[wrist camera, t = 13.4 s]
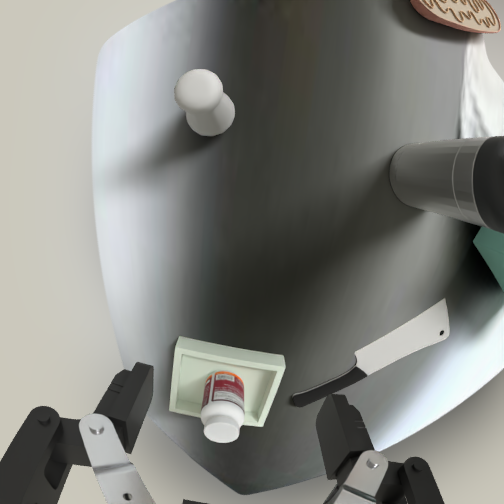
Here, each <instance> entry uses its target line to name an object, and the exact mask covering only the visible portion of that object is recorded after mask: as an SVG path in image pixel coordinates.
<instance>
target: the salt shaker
mask: <svg viewBox="0 0 504 504" xmlns="http://www.w3.org/2000/svg"><path fill="white" fill-rule="evenodd" d="M174 93H175V101H176V102H177V104H178V105H179V107H180V108H181V109H182V110H184V111H186V118H187V122H188V124H189V125H190V127H191V128H192V130H194V131H195V132H197V133H198V134H200V135H203V136H214V135H218V134H221V133H223V132H224V131H225V130H226V129H227V128H229V127H230V126H231V124H232V121H233V119H234V117H235V110H234V104H233V103H232V101H231V100H230V98H229V97H228V96H227V95H226V94H225V93H223V87H222V83H221V81H220V80H219V78H218V77H217V75H216V74H214V73H212V72H210V71H208V70H204V69H195V70H192V71H189V72H187V73H185V74H184V75H183V76H182V77H181V78H180V79H178V81H177V84H176V86H175V88H174Z"/></svg>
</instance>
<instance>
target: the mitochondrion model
mask: <svg viewBox="0 0 504 504" xmlns="http://www.w3.org/2000/svg"><path fill="white" fill-rule="evenodd" d="M410 2H411V4H412V5H413V7H414V8H415V10H416V11H417V12H418V13H420V14H421V15H422V16H423V17H425V18H427V19H429V20H431V21H434V22H437V23H441V24H444V25H447V26H450V27H453V28H456V29H460V30H464V31H469V32H475V33H497V32H499V31H500V29H501V24H500V20H499V18H498V16H497V14H496V12H495V11H494V9H493V8H492V7H491V5H490V4H489V3H488V2H487V1H486V0H410Z"/></svg>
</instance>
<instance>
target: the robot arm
mask: <svg viewBox="0 0 504 504" xmlns="http://www.w3.org/2000/svg"><path fill="white" fill-rule="evenodd" d="M389 175H390V182H391V186H392V189H393V191H394V193H395V194H396V196H397V197H398V198H399V199H400V201H401V202H403V203H404V204H406V205H408V206H411V207H415V208H419V209H423V210H426V211H430V212H434V213H437V214H441V215H445V216H448V217H452V218H455V219H459V220H462V221H465V222H469V223H472V224H476V225H479V226H482V227H485V228H488V229H492V230H494V231H497V232H500V233H503V234H504V136H495V137H478V138H465V139H453V140H442V141H432V142H423V143H414V144H408V145H405V146H403V147H401V148H400V149H399V150H398V151H397V152H396V153H395V155H394V156H393V158H392V161H391V164H390V171H389ZM153 371H154V369H153V366H151V365H147V364H143V363H140V362H137V363H136V364H135V366H134V368H133V369H132V371H128V370H125V369H124V370H122V371H121V372H120V373H118V374H117V375H115V377H114V379H113V380H112V382H111V384H110V386H109V387H108V390H107V391H106V392H105V394H104V396H103V397H102V400H101V401H100V403H99V404H98V406H97V408H96V410H95V411H94V413H93V414H89V415H86V416H84V417H83V418H82V419H80V420H76V419H68V418H61V417H59V414H58V413H57V412H56V411H55V410H54V409H52V408H51V407H47V406H40V407H36V408H35V409H33V410H32V411H31V412H30V414H29V415H28V417H27V418H26V420H25V421H24V423H23V424H22V426H21V428H20V429H19V431H18V432H17V434H16V436H15V437H14V439H13V441H12V442H11V444H10V446H9V447H8V449H7V451H6V453H5V454H4V456H3V458H2V460H1V461H0V504H57V503H58V500H59V498H60V495H61V492H62V490H63V487H64V484H65V482H66V479H67V477H68V474H69V472H70V469H71V467H72V464H74V465H81V466H90V467H93V470H94V473H95V476H96V478H97V481H98V483H99V485H100V488H101V490H102V492H103V494H104V497H105V499H106V501H107V503H108V504H155V502H154V500H153V499H152V497H151V495H150V493H149V492H148V490H147V488H146V487H145V485H144V483H143V481H142V479H141V477H140V476H139V474H138V472H137V470H136V468H135V467H134V465H133V464H132V463H130V461H129V459H128V457H127V455H126V453H129V454H131V452H132V450H133V447H134V444H135V442H136V439H137V436H138V434H139V431H140V429H141V426H142V424H143V421H144V418H145V416H146V413H147V411H148V408H149V405H150V403H151V400H152V396H153ZM316 429H317V434H318V438H319V442H320V447H321V451H322V456H323V460H324V465H325V469H326V474H327V478H328V480H332V479H337V485H336V486H335V487H334V489H333V490H332V492H331V493H330V495H329V496H328V497H327V499H326V500H325V502H324V503H323V504H375V503H376V504H407V503H408V504H444V501H443V499H442V496H441V494H440V491H439V489H438V487H437V484H436V482H435V479H434V477H433V475H432V472H431V470H430V467H429V465H428V463H427V462H426V461H425V460H423V459H422V458H419V457H411V458H409V459H407V460H406V461H405V462H404V463H396V462H390V461H388V460H387V458H386V457H385V456H384V455H383V454H382V453H380V452H378V451H375V450H374V447H373V445H372V442H371V439H370V437H369V434H368V432H367V429H366V428H365V424H364V422H363V419H362V417H361V414H360V412H359V411H358V410H357V409H356V408H355V407H354V406H353V405H349V404H348V401H347V399H346V396H345V395H338V394H329V395H328V396H327V397H326V399H325V401H324V403H323V405H322V407H321V409H320V411H319V413H318V415H317V419H316ZM125 452H126V453H125ZM405 496H406V498H405ZM406 499H407V501H406ZM183 504H207V503H201V502H195V501H189V500H183Z"/></svg>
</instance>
